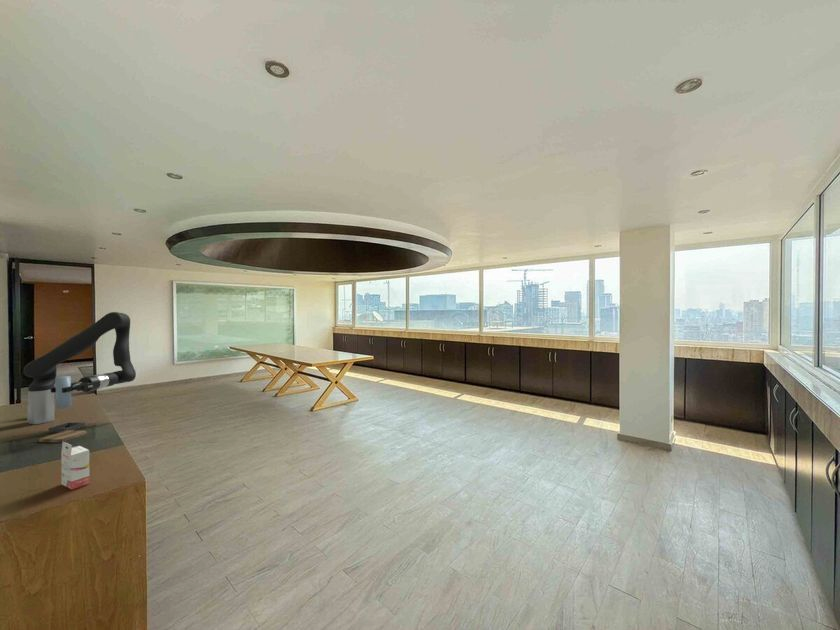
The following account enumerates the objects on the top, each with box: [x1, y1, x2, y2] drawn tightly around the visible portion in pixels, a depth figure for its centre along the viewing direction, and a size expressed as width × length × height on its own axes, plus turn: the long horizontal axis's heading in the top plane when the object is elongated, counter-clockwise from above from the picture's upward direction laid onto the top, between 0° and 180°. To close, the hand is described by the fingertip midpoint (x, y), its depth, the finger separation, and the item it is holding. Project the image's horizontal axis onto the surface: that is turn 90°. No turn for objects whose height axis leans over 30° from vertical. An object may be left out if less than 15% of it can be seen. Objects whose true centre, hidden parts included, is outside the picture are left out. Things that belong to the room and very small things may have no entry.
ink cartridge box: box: [60, 441, 91, 491], centre depth 117 cm, size 9×5×15 cm, turn 62°
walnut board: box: [38, 429, 88, 443], centre depth 160 cm, size 11×11×2 cm
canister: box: [54, 375, 72, 410], centre depth 160 cm, size 5×5×14 cm
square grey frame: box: [48, 421, 86, 433], centre depth 172 cm, size 9×9×2 cm
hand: (57, 390), depth 157 cm, fingers closed on canister, 5 cm apart
